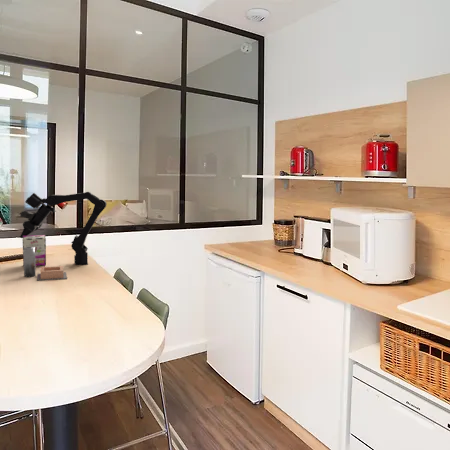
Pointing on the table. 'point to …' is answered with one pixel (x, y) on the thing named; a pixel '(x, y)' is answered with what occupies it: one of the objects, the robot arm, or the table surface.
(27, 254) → the metal pin
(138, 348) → the table surface
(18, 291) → the table surface
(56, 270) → the terracotta socket
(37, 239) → the candy bar box
